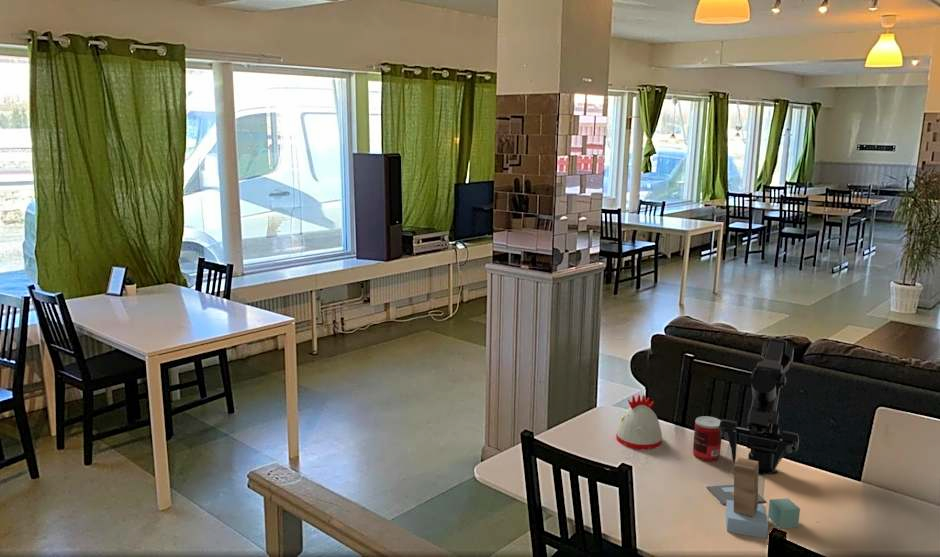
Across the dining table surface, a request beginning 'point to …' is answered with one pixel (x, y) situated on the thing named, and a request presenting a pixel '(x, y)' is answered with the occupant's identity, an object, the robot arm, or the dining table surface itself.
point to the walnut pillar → (746, 486)
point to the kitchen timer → (639, 426)
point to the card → (726, 493)
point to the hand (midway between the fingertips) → (753, 466)
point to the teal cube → (784, 513)
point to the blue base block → (747, 521)
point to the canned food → (707, 438)
